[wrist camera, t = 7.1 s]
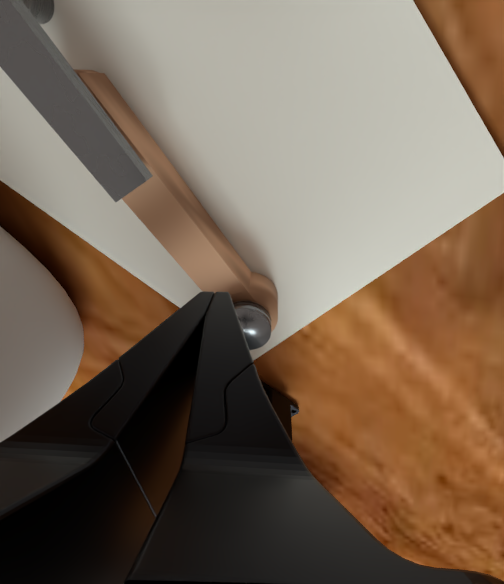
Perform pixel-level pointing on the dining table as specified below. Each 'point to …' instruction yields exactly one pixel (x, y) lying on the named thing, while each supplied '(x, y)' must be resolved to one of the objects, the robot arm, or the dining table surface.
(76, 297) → the dining table surface
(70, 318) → the gray curved shell
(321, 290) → the hinge board
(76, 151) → the keeper
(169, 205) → the link
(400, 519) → the dining table surface
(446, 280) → the dining table surface
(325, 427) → the dining table surface
